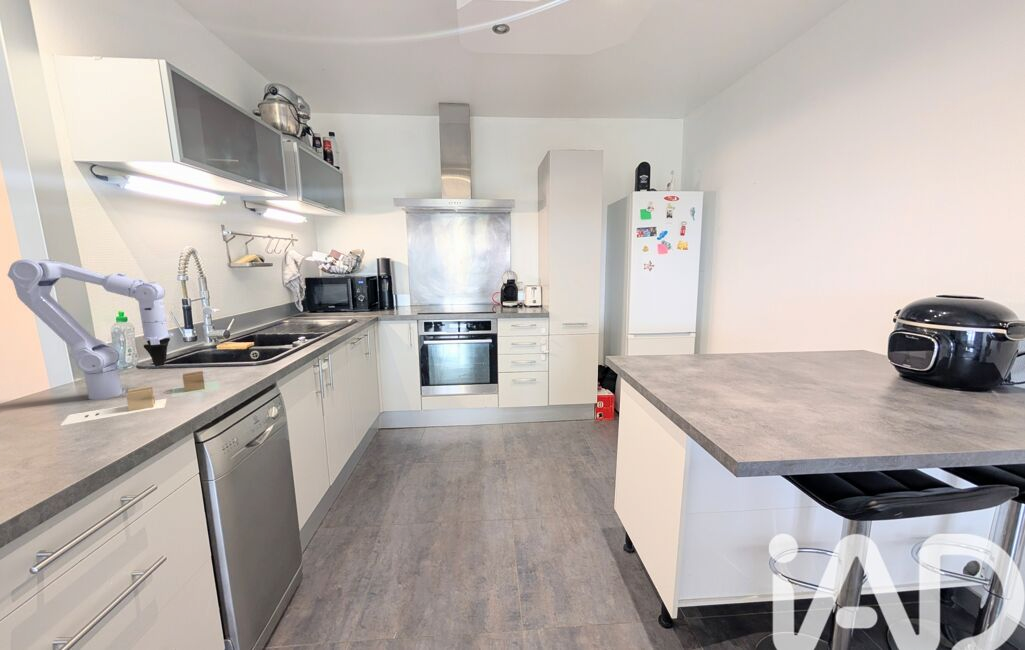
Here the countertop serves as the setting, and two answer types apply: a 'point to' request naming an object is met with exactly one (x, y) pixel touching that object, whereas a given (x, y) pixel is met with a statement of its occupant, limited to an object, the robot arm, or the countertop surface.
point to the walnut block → (193, 381)
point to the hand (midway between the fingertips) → (160, 363)
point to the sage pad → (208, 387)
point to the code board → (107, 413)
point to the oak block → (140, 398)
